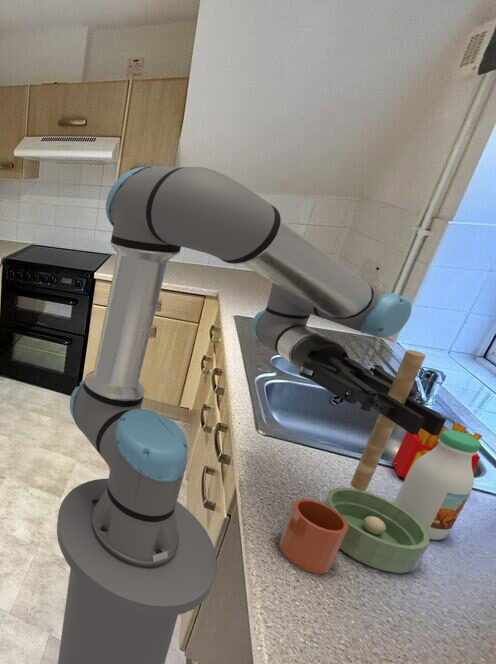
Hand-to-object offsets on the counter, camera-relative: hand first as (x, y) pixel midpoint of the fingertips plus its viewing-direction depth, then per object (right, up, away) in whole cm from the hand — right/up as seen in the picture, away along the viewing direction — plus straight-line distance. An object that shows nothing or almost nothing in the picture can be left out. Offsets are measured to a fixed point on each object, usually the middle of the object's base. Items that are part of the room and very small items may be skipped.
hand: (428, 426), depth 56 cm
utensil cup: (-5, -26, +15) cm, 31 cm away
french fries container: (+35, -21, +33) cm, 53 cm away
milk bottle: (+22, -25, +22) cm, 39 cm away
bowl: (+8, -25, +18) cm, 32 cm away
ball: (+11, -23, +19) cm, 32 cm away
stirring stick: (0, -13, +11) cm, 16 cm away
